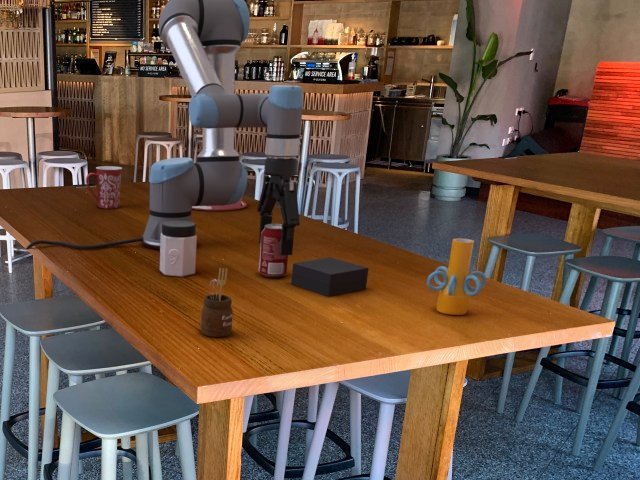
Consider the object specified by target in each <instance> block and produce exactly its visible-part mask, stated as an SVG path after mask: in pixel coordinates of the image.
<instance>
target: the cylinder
mask: <svg viewBox="0 0 640 480" xmlns="http://www.w3.org/2000/svg"><path fill="white" fill-rule="evenodd" d="M474 243H475V240H474V239H470V238H463V237H461V238H458V237H457V238H453V239H452V243H451V249H450V254H449V261H448V266H447V267H446V266H443V265H442V266H438V267H437V268H436V269H435V271H433V272H431V273H430V274H429V275H428V277H427V279H426V285H427V287H428V289H429V290H431V291H433V292H438V297H437V301H436V308H435V309H436V311H437V312H439V313H440V314H444V315H450V316H463V315H466V313H467V312H468V308H469V302H470V297H475V296H477V295H479V293H480V291H481V290H482V289H483V288H485V286H486V284H487V276H486V274H485V273H484V272H482V271H479V270H475V271H472V272H470V266H471V260H472V254H473V250H474ZM469 272H470V273H469ZM439 276H441V277H442V278H443V282H441V281H440V280H439ZM477 276H479V277H481V280H480V279H479V277H477ZM432 279H434V282H435V284H436V285H437V286H434V285H432ZM471 280H473V281H474V282H475V284H476V287H473V286H472V285H470V281H471Z"/></svg>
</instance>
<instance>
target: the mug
mask: <svg viewBox="0 0 640 480" xmlns="http://www.w3.org/2000/svg"><path fill="white" fill-rule="evenodd" d="M95 169H96V173H95V172H89V173H88V174H87V175H86V177H85V185H86V188H87V189H88V191H89V193H90V194H91V196H92V197H93V198H94V199H95V200H96V202H98V203H97V204H98V208H100V209H107V210H109V209H111V210H112V209H118V208H119V207H120V199H121V185H122V184H121V181H122V170H123V167H120V166H114V165H113V166H108V165H105V166H103V165H102V166H97V167H95ZM92 176H93V177H94V179H95V181H96V182H97V183H96V185H97V195H96V194H95V193H94V191H93V189H92V188H91V186H90V181H89V180H90V177H92Z"/></svg>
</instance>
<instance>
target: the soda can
mask: <svg viewBox="0 0 640 480" xmlns="http://www.w3.org/2000/svg"><path fill="white" fill-rule="evenodd" d="M282 224H283V223H282ZM282 224H281V223H272V224H267V225H265V226H264V227H265V228H264V230H263V231H262V233H261V244H260V243H259V244H260V245H259V260H258V273H259V274H260V275H261V276H262V277H265V278H269V279H278V278H283V277H284V276H286V275H287V273H288V263H289V262H288V261H289V255H280V248H281V235H282V227H281V226H282Z"/></svg>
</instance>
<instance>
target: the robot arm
mask: <svg viewBox="0 0 640 480" xmlns="http://www.w3.org/2000/svg"><path fill="white" fill-rule="evenodd" d="M250 19H251V18H250V11H249V7H248V5H247V2H246V1H245V0H169V1H168V2H167V3H165V6H164V7H163V9H162V11H161V12H160V15H159V20H158V35H159V38H160V40H161V42H162V44H163V46H164V47H165V48H166V49H167V50H169V51H170V52H171V54H172V56H173V59H174V61H175V63H176V65H177V67H178V70H179V72H180V74H181V77H182V79H183V81H184V83H185V85H186V87H187V90H188V92H189V94H190V96H191V98H190V100H189V102H188V103H189V104H188V116H189V121H190V124H191V126H193V127H194V128H197V129H198V128H199V129H202V149H201V151H200V152H199V153H198V154H197V155H196V162H194V159H193V158H192V157H187V156H186V157H171V158H165V159H161V160H158V161H156V162H154V163H153V164H152V165H151V167H150V174H149V180H148V182H149V213H148V214H149V217H148V220H147V223H146V226H145V229H144V232H143V235H142V237H137V238H130V239H124V240H119V241H118V240H117V241H112V242H106V243H101V244H95V245H94V244H92V245H91V244H90V245H89V244H88V245H86V244H85V245H84V244H83V245H81V244H75V243H71V242H66V241H55V240H54V241H53V240H44V239H38V240H34V241H33V242H31V243H29V244H28V245H27V246H26V247H25V250H30V249H32V248H33V247H34V246H36V245H50V246H65V247H69V248H74V249H78V250H79V249H80V250H93V249H95V250H96V249H101V248H102V249H103V248H107V247H115V246H119V245H120V246H121V245H125V244H131V243H133V244H134V243H138V242H142V243H141V244H142V246H143V247H145V248H148V249H150V250H151V249H152V250H156V251H158V250H159V251H160V241H161V233H162V223H163V222H166V221H175V220H180V221H190V222H193V220H192V210H193V209H192V207H193V206H216V205H220V206H225V205H230V204H235V203H237V202H238V201H239V200H240V199H241V198H242V199H243V196H244V194H245V191H246V189H247V183H248V171H247V166H246V164H245V163H244V162H243V161H241V160H240V154H239V153H238V152H237V151H236V149H235V128H237V129H239V128H240V129H241V128H243V129H244V128H245V129H246V128H264V129H265V128H266V137H265V150H264V155H265V156H267V157H266V158H265V159H264V169H263V170H264V171H263V173H264V174H265V175H264V176H263V184H262V189H261V192H260V196H259V200H258V203H257V207H256V211H257V213H259V216H260V217H259V218H260V220H259V235H258V243H259V244H261V233H262V231H263V230H264V228H265V227H264V226H265V225H267V224H273V215H274V213H273V210H274V208H275V205H276V203H279V208H280V212H281V217H282V222H283V223H282V226H281V227H282V235H281V248H280V255H288V256H293V250H294V237H295V228H296V227H298V226H299V227H300V224H301V222H300V214H299V213H300V212H299V203H298V194H297V191H298V190H297V189H298V186H297V185H298V183H297V181H291V177H292V176H294V177H295V176H296V175H297V174H298V167H299V159H298V158H297V157H298V156H299V153H300V146H301V145H302V143H301V141H300V138H301V129H302V118H303V108H304V90H303V87H302V86H300V85H272V86H271V87H270V89H269V92H268V93H267V92H256V93H235V90H236V89H235V88H236V87H235V86H236V85H235V83H236V82H235V81H236V79H235V77H236V76H235V75H236V55H237V54H238V52H239V51H240V50H241V48H242V43H243V42H245V41H246V40H247V38H248V37H249V31H250V27H251V20H250ZM197 230H198V226H197V225H196V232H197ZM195 235H196V236H197V233H195ZM197 244H198V242H197V243H196V247H197V246H198V245H197Z"/></svg>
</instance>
